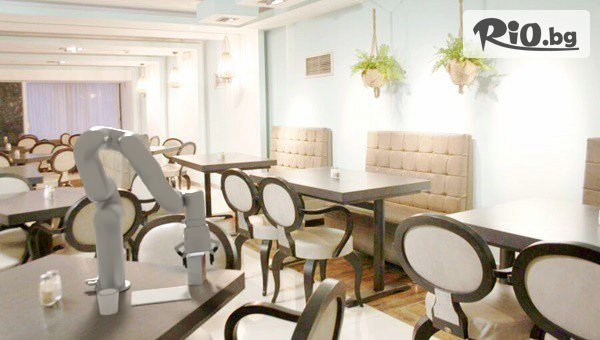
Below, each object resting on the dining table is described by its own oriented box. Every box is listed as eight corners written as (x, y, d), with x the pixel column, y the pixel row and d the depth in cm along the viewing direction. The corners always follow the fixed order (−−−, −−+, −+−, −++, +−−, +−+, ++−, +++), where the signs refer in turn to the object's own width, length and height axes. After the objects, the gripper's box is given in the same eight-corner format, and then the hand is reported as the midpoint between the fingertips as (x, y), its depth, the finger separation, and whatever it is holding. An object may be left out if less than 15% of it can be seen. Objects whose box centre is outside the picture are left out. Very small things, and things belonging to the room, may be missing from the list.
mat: (131, 306, 178) (131, 304, 178) (131, 292, 190) (131, 291, 190) (191, 299, 184) (191, 297, 183) (187, 286, 196) (187, 285, 196)
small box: (202, 285, 197) (201, 258, 196) (187, 285, 197) (186, 258, 196) (206, 278, 205) (205, 252, 204) (192, 278, 205) (191, 252, 204)
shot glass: (107, 317, 169) (105, 296, 168) (93, 313, 172) (92, 292, 171) (124, 310, 175) (123, 290, 174) (110, 306, 178) (109, 286, 177)
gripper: (172, 226, 192) (176, 271, 195) (219, 221, 197) (222, 265, 199) (171, 222, 199) (175, 265, 202) (217, 217, 204) (219, 259, 207)
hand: (198, 265), depth 201 cm, fingers open, 9 cm apart
